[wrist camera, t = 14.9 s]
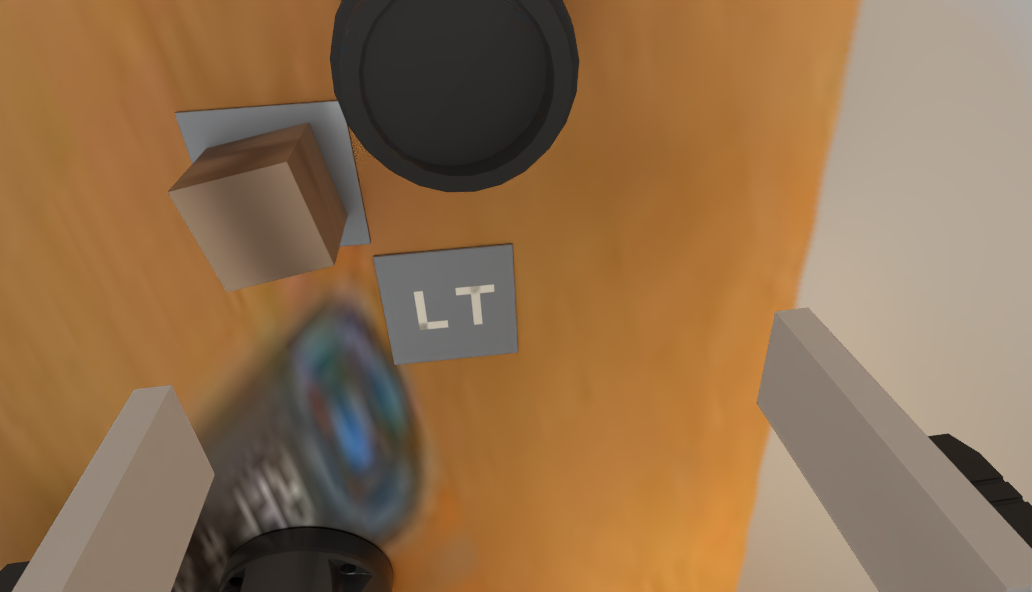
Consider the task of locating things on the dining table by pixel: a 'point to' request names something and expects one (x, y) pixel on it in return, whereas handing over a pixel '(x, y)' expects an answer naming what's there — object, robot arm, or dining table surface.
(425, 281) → the tile
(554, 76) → the coffee cup
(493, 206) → the dining table surface
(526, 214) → the dining table surface
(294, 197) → the brown cube
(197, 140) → the code tile
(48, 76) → the dining table surface
